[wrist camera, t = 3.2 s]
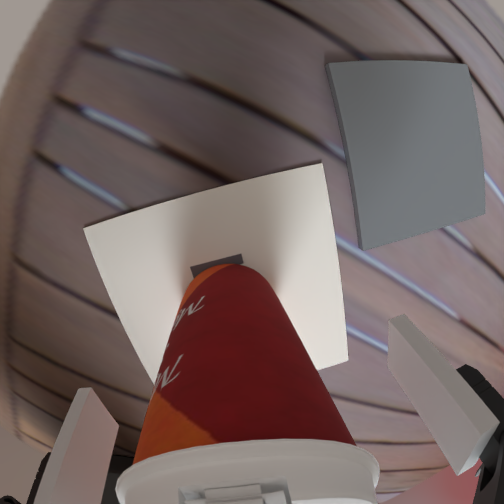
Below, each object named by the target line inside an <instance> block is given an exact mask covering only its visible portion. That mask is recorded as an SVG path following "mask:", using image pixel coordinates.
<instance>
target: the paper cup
mask: <svg viewBox="0 0 504 504" xmlns="http://www.w3.org/2000/svg"><path fill="white" fill-rule="evenodd" d="M379 473H380V469H379V464H378V462H377V460H376V459H375V457H374V456H373V455H372V454H371V453H369V452H368V451H366V450H365V449H363V448H360V447H357V446H356V444H355V442H354V440H353V438H352V436H351V434H350V433H349V431H348V429H347V427H346V425H345V423H344V421H343V419H342V417H341V415H340V413H339V412H338V410H337V408H336V406H335V404H334V402H333V400H332V398H331V396H330V394H329V392H328V391H327V389H326V387H325V385H324V383H323V381H322V379H321V377H320V375H319V373H318V371H317V370H316V368H315V366H314V364H313V362H312V360H311V358H310V356H309V354H308V352H307V351H306V349H305V347H304V345H303V343H302V341H301V339H300V337H299V335H298V334H297V332H296V330H295V328H294V326H293V324H292V322H291V320H290V319H289V317H288V315H287V313H286V311H285V309H284V307H283V306H282V304H281V302H280V300H279V298H278V297H277V295H276V293H275V291H274V290H273V288H272V287H271V285H270V284H269V282H268V281H267V280H266V279H265V278H264V277H263V276H262V275H261V274H260V273H258V272H257V271H255V270H254V269H252V268H250V267H247V266H244V265H240V264H220V265H216V266H213V267H210V268H208V269H206V270H204V271H202V272H201V273H200V274H198V275H197V276H196V277H195V278H194V279H193V280H192V282H191V283H190V284H189V286H188V288H187V289H186V291H185V294H184V296H183V298H182V301H181V304H180V306H179V309H178V312H177V315H176V318H175V321H174V324H173V327H172V330H171V333H170V336H169V339H168V342H167V345H166V348H165V352H164V355H163V358H162V361H161V365H160V368H159V371H158V374H157V378H156V381H155V385H154V388H153V391H152V395H151V398H150V402H149V405H148V409H147V412H146V416H145V420H144V423H143V427H142V431H141V434H140V438H139V442H138V446H137V449H136V453H135V457H134V461H133V465H132V466H131V467H129V468H128V469H126V470H125V471H123V473H122V474H121V475H120V477H119V478H118V480H117V484H116V488H115V490H116V495H117V498H118V500H119V503H120V504H378V503H377V498H376V493H375V487H376V486H377V483H378V479H379Z"/></svg>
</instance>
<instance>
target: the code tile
mask: <svg viewBox="0 0 504 504" xmlns="http://www.w3.org/2000/svg"><path fill="white" fill-rule="evenodd" d="M83 230H84V233H85V236H86V238H87V241H88V244H89V247H90V249H91V252H92V255H93V257H94V260H95V262H96V265H97V267H98V270H99V272H100V275H101V277H102V280H103V282H104V284H105V287H106V289H107V292H108V294H109V296H110V298H111V301H112V303H113V305H114V307H115V310H116V312H117V314H118V316H119V318H120V320H121V322H122V325H123V327H124V329H125V331H126V333H127V335H128V337H129V339H130V341H131V343H132V345H133V347H134V349H135V351H136V353H137V354H138V356H139V358H140V360H141V362H142V364H143V366H144V368H145V369H146V371H147V373H148V375H149V377H150V378H151V380H152V382H153V384H154V385H155V381H156V378H157V374H158V371H159V368H160V365H161V361H162V358H163V355H164V352H165V348H166V345H167V342H168V339H169V336H170V333H171V330H172V327H173V324H174V321H175V318H176V315H177V312H178V309H179V306H180V304H181V301H182V298H183V296H184V294H185V291H186V289H187V288H188V286H189V284H190V283H191V282H192V280H193V279H194V278H195V277H196V276H197V275H198V274H200V273H201V272H202V271H204V270H206V269H208V268H210V267H213V266H216V265H220V264H240V265H244V266H247V267H250V268H252V269H254V270H255V271H257V272H258V273H260V274H261V275H262V276H263V277H264V278H265V279H266V280H267V281H268V282H269V284H270V285H271V287H272V288H273V290H274V291H275V293H276V295H277V297H278V298H279V300H280V302H281V304H282V306H283V307H284V309H285V311H286V313H287V315H288V317H289V319H290V320H291V322H292V324H293V326H294V328H295V330H296V332H297V334H298V335H299V337H300V339H301V341H302V343H303V345H304V347H305V349H306V351H307V352H308V354H309V356H310V358H311V360H312V362H313V364H314V366H315V368H316V370H320V369H323V368H326V367H330V366H333V365H336V364H339V363H342V362H345V361H348V348H347V336H346V324H345V314H344V304H343V294H342V286H341V277H340V269H339V261H338V254H337V247H336V240H335V233H334V227H333V220H332V214H331V208H330V202H329V196H328V191H327V185H326V180H325V174H324V169H323V164H322V163H319V164H314V165H309V166H304V167H300V168H295V169H291V170H286V171H282V172H277V173H273V174H269V175H264V176H260V177H256V178H252V179H248V180H244V181H240V182H236V183H232V184H228V185H224V186H220V187H216V188H213V189H209V190H205V191H201V192H198V193H194V194H191V195H187V196H183V197H180V198H176V199H173V200H170V201H166V202H163V203H159V204H156V205H153V206H149V207H146V208H143V209H140V210H137V211H133V212H130V213H127V214H124V215H121V216H118V217H115V218H112V219H109V220H106V221H103V222H100V223H97V224H94V225H91V226H88V227H85V228H83Z"/></svg>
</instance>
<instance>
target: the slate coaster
mask: <svg viewBox="0 0 504 504" xmlns="http://www.w3.org/2000/svg"><path fill="white" fill-rule="evenodd" d="M325 68H326V72H327V76H328V79H329V83H330V87H331V91H332V96H333V100H334V104H335V108H336V113H337V117H338V122H339V126H340V131H341V136H342V141H343V146H344V151H345V157H346V162H347V168H348V173H349V179H350V185H351V192H352V198H353V205H354V212H355V219H356V227H357V235H358V244H359V248H360V249H361V250H362V251H365V250H368V249H372V248H375V247H379V246H382V245H385V244H389V243H392V242H396V241H399V240H403V239H406V238H409V237H413V236H416V235H419V234H423V233H426V232H429V231H433V230H436V229H439V228H442V227H446V226H449V225H452V224H455V223H458V222H462V221H465V220H468V219H471V218H474V217H477V216H481V215H484V214H485V179H484V164H483V153H482V143H481V135H480V127H479V121H478V114H477V108H476V103H475V98H474V93H473V88H472V83H471V79H470V74H469V70H468V66H467V64H457V63H447V62H433V61H410V60H374V61H350V62H336V63H328V64H326V65H325Z"/></svg>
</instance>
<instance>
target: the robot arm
mask: <svg viewBox="0 0 504 504" xmlns="http://www.w3.org/2000/svg"><path fill="white" fill-rule="evenodd" d="M387 367H388V369H389V370H390V372H391V373H392V375H393V376H394V378H395V379H396V381H397V382H398V384H399V385H400V387H401V388H402V390H403V391H404V393H405V394H406V396H407V397H408V399H409V400H410V402H411V403H412V405H413V406H414V408H415V409H416V411H417V412H418V414H419V415H420V417H421V419H422V420H423V422H424V423H425V425H426V426H427V428H428V430H429V431H430V433H431V434H432V436H433V437H434V439H435V441H436V442H437V444H438V445H439V447H440V449H441V450H442V452H443V454H444V455H445V457H446V458H447V460H448V462H449V463H450V465H451V467H452V468H453V470H454V471H455V473H456V475H457V476H458V475H459V474H461V473H463V472H464V471H466V470H468V469H469V468H471V467H472V466H474V465H475V463H476V462H477V460H478V459H479V458H480V459H481V461H482V462H483V463H482V465H481V466H480V468H479V469H478V470H477V472H476V475H475V476H476V477H477V476H478V475H479V474H480V476H479V481H478V485H477V489H476V493H475V497H474V500H473V504H504V399H503V398H502V396H501V395H500V394H499V393H498V392H497V391H496V390H495V389H494V387H492V385H491V384H490V383H489V382H488V381H487V380H485V378H484V377H483V375H482V374H481V373H480V372H479V371H478V370H477V369H475V368H473V367H471V366H469V365H467V364H465V365H464V366H462V367H460V368H458V369H455V368H454V367H453V366H452V365H451V364H450V363H449V362H448V361H447V359H446V358H445V357H444V356H443V355H442V354H441V353H440V352H439V351H438V349H437V348H436V347H435V346H434V345H433V344H432V343H431V342H430V341H429V340H428V339H427V338H426V336H425V335H424V334H423V333H422V332H421V331H420V330H419V329H418V328H417V327H416V326H415V325H414V324H413V323H412V322H411V321H410V320H409V319H408V317H407V316H406V315H405V314H403V315H400V316H397V317H395V318H392V319H389V331H388V365H387ZM118 428H119V425H118V424H117V422H116V421H115V420H114V418H113V417H112V416H111V414H110V413H109V412H108V410H107V409H106V408H105V406H104V405H103V403H102V402H101V401H100V399H99V398H98V396H97V395H96V393H95V392H94V391H93V389H92V388H91V387H88V388H79V389H78V391H77V393H76V395H75V397H74V400H73V402H72V404H71V406H70V409H69V411H68V413H67V415H66V418H65V420H64V422H63V425H62V427H61V430H60V432H59V435H58V437H57V439H56V442H55V445H54V447H53V450H52V452H48V453H47V455H46V456H45V457H44V458H43V460H42V461H41V464H40V467H39V469H38V470H39V472H37V475H36V479H35V480H34V483H33V486H32V489H31V492H30V495H29V497H28V500H27V504H120V503H119V500H118V498H117V495H116V490H115V488H116V484H117V480H118V478H119V477H120V475H121V474H122V473H123V471H125V470H126V469H128V468H129V467H131V466H132V465H133V461H134V459H133V458H128V457H122V456H115V455H112V452H113V448H114V444H115V440H116V436H117V432H118ZM0 504H21V503H20V502H18V501H17V500H16V499H14V498H13V497H12V496H4V497H2V498H0Z"/></svg>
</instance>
